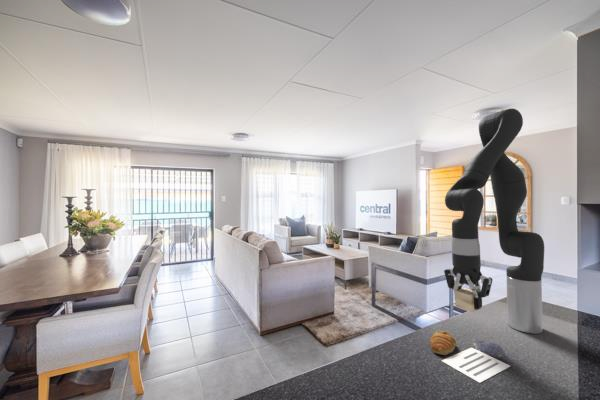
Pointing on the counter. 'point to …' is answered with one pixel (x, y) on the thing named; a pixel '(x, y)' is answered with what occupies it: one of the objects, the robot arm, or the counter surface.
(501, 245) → the robot arm
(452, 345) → the pastry
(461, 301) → the maple cube
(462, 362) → the letter
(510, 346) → the counter surface
